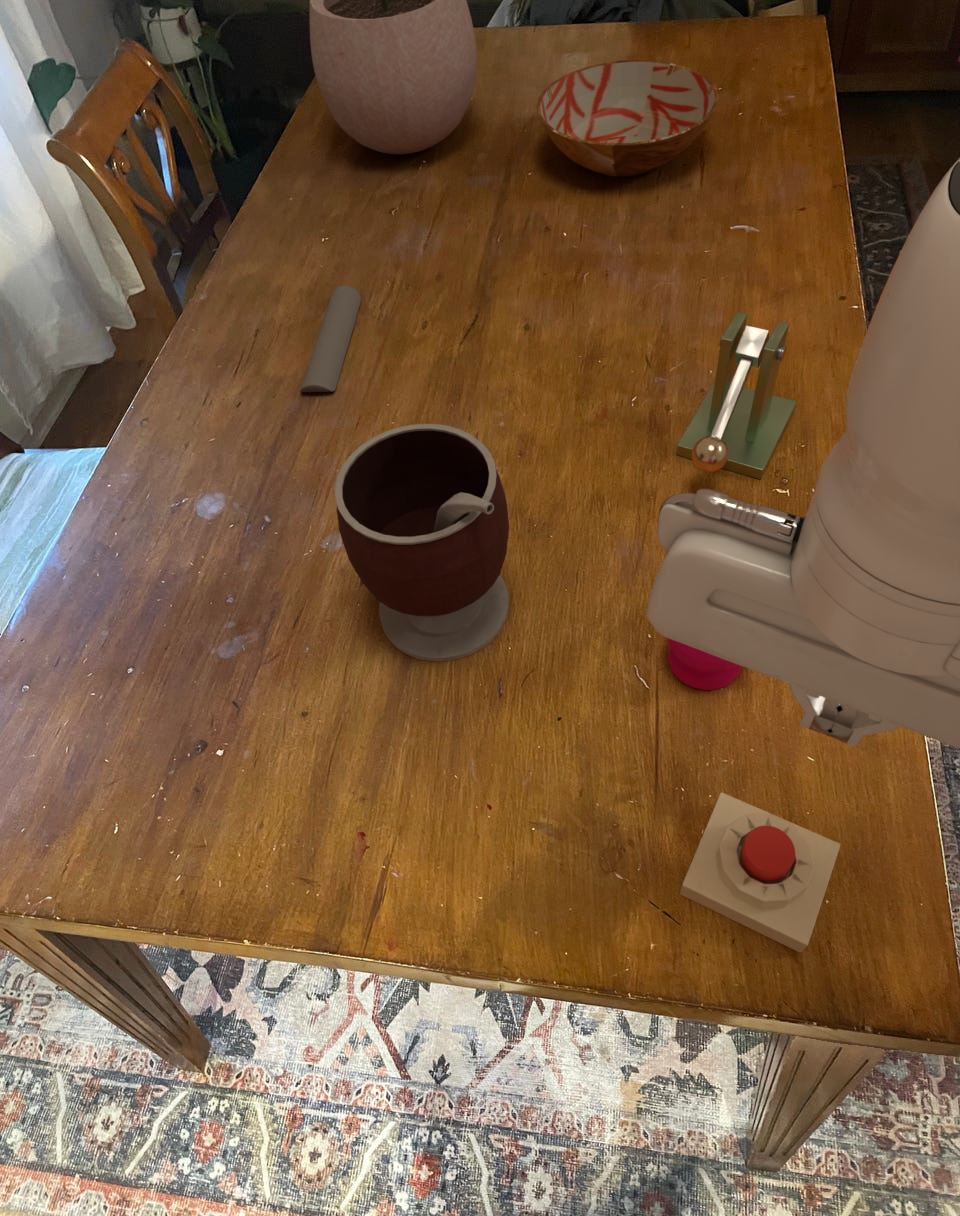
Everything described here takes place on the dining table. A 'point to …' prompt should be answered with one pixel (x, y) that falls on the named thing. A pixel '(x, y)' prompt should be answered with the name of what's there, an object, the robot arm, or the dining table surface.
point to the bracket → (744, 406)
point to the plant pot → (394, 68)
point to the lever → (730, 401)
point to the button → (767, 853)
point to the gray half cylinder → (332, 341)
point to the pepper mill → (700, 667)
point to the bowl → (627, 114)
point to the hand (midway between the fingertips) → (830, 725)
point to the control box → (751, 901)
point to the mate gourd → (428, 537)
